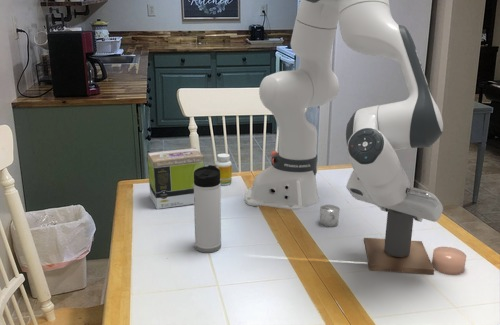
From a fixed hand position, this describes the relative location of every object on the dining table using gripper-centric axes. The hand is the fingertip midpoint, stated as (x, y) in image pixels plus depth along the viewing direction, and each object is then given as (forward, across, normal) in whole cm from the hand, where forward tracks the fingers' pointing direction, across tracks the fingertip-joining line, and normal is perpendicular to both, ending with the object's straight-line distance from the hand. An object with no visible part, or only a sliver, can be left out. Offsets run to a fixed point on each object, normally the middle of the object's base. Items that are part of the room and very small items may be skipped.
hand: (402, 213), depth 118 cm
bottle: (+7, 0, +7) cm, 10 cm away
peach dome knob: (+10, -11, +6) cm, 16 cm away
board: (+7, 0, +8) cm, 11 cm away
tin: (+10, +22, +5) cm, 25 cm away
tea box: (0, +65, +16) cm, 67 cm away
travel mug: (-11, +37, +27) cm, 47 cm away
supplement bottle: (+14, +65, +2) cm, 67 cm away
